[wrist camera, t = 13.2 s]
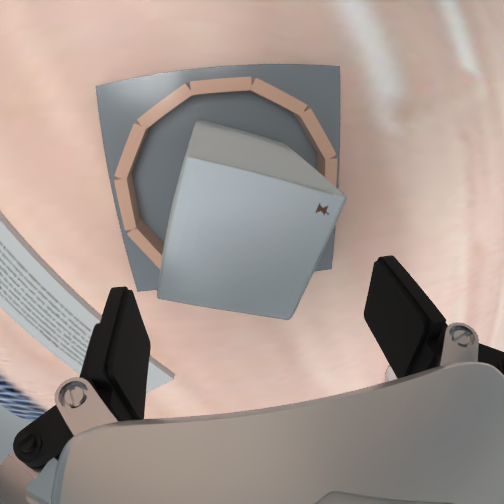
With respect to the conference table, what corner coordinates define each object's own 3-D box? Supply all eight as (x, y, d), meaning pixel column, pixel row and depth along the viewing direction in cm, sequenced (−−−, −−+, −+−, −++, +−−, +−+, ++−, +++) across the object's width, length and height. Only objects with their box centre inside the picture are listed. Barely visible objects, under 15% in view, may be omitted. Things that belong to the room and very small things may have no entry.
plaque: (173, 379, 37) (122, 403, 38) (174, 370, 38) (123, 394, 39) (-20, 195, 22) (-51, 251, 23) (-12, 190, 23) (-44, 244, 25)
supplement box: (195, 116, 22) (186, 148, 12) (286, 142, 24) (354, 197, 14) (172, 203, 26) (152, 301, 15) (257, 223, 28) (293, 324, 17)
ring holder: (335, 66, 22) (350, 65, 20) (328, 263, 32) (338, 280, 29) (99, 86, 21) (87, 87, 18) (139, 285, 30) (134, 304, 28)
